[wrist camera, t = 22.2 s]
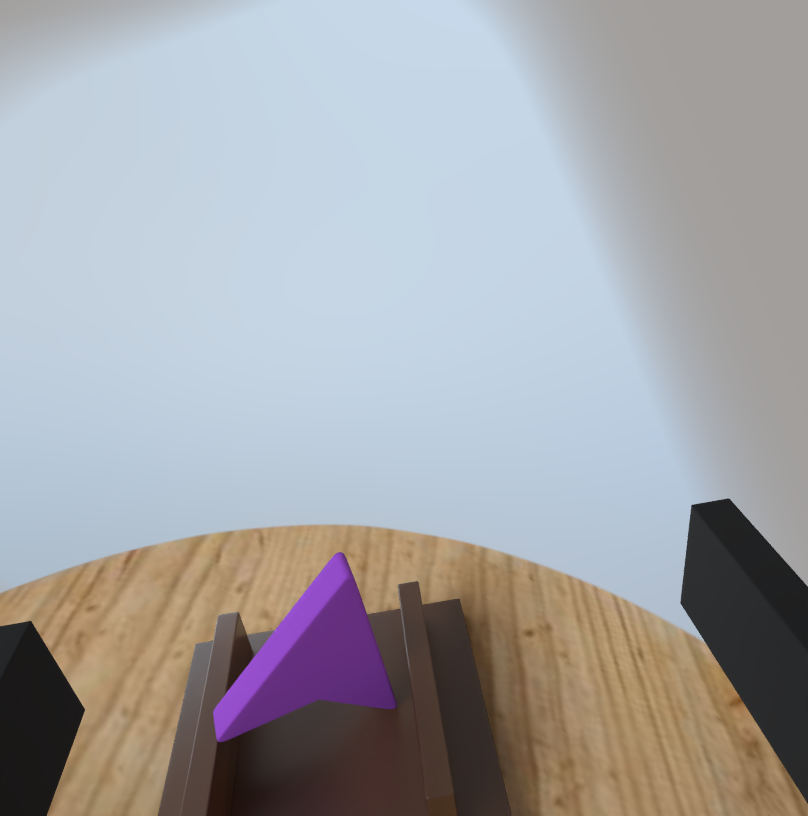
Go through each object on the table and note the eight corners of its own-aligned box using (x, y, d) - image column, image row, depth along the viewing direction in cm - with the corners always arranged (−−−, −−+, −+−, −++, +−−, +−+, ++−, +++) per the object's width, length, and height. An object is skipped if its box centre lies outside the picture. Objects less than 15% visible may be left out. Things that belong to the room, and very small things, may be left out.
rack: (460, 611, 39) (455, 561, 37) (520, 863, 27) (516, 808, 25) (201, 656, 39) (180, 608, 37) (144, 932, 27) (108, 883, 25)
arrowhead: (298, 780, 33) (158, 716, 27) (291, 750, 34) (156, 683, 28) (455, 666, 33) (350, 575, 27) (442, 640, 34) (340, 548, 28)
